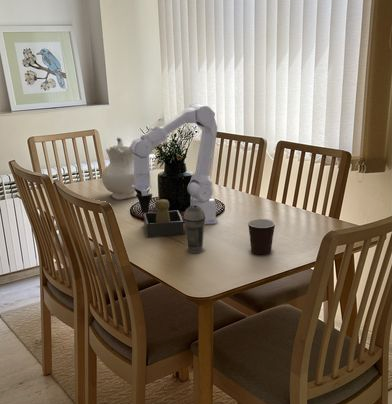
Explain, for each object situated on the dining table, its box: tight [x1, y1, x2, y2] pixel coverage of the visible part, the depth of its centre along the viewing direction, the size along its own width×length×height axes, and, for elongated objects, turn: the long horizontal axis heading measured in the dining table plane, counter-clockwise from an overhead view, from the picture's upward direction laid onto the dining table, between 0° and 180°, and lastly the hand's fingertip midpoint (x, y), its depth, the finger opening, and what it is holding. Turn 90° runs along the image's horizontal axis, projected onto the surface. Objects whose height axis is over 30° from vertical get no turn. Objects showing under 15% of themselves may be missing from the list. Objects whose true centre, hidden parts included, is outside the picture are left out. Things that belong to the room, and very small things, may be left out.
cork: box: [154, 198, 170, 223], centre depth 201 cm, size 6×6×11 cm
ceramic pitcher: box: [101, 136, 137, 201], centre depth 244 cm, size 22×20×25 cm
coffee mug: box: [248, 218, 276, 257], centre depth 180 cm, size 12×9×10 cm
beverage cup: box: [182, 192, 205, 254], centre depth 180 cm, size 7×7×20 cm
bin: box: [143, 209, 185, 238], centre depth 202 cm, size 13×13×5 cm
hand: (144, 209), depth 199 cm, fingers open, 7 cm apart
